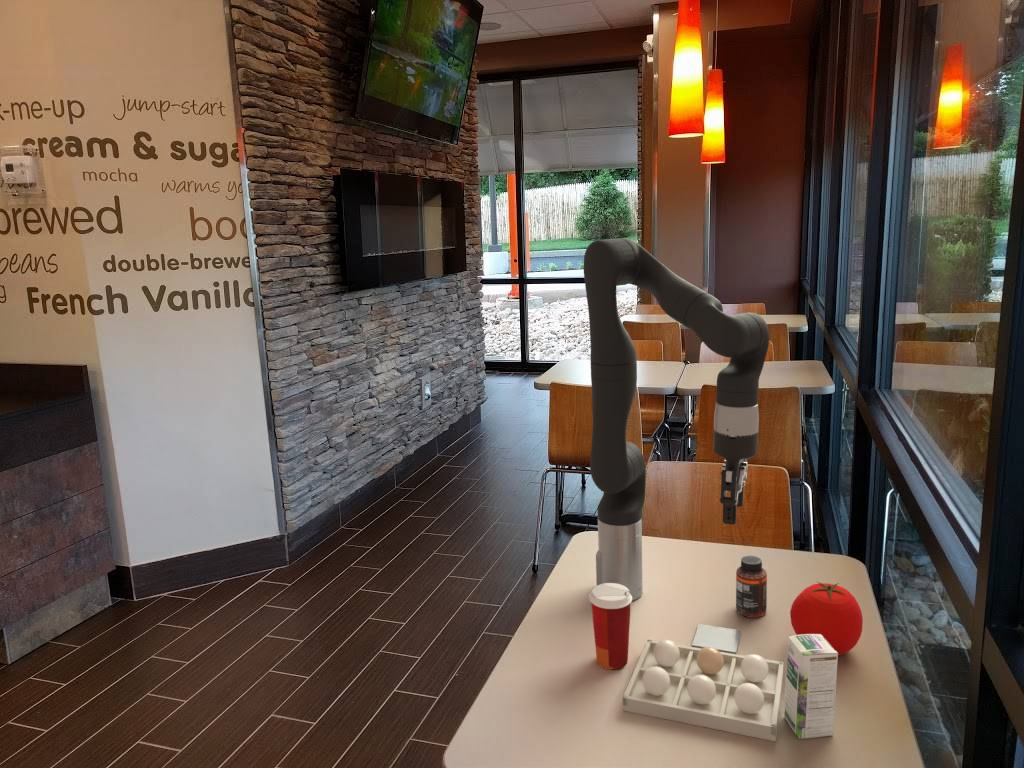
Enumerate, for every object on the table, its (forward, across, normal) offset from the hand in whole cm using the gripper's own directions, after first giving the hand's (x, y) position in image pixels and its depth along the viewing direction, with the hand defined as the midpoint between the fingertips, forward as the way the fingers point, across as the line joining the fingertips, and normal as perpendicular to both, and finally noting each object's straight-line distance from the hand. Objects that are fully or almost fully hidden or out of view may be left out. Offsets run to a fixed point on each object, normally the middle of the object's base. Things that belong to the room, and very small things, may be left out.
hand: (733, 514), depth 139 cm
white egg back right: (+23, +11, +6) cm, 26 cm away
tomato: (+26, -5, +16) cm, 32 cm away
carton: (+26, +16, -1) cm, 31 cm away
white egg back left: (+23, +11, -9) cm, 27 cm away
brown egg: (+23, +11, -2) cm, 26 cm away
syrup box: (+26, +19, +15) cm, 36 cm away
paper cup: (+27, +12, -19) cm, 35 cm away
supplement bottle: (+27, -15, +2) cm, 31 cm away
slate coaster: (+26, -2, -2) cm, 27 cm away
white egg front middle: (+23, +20, -1) cm, 31 cm away
